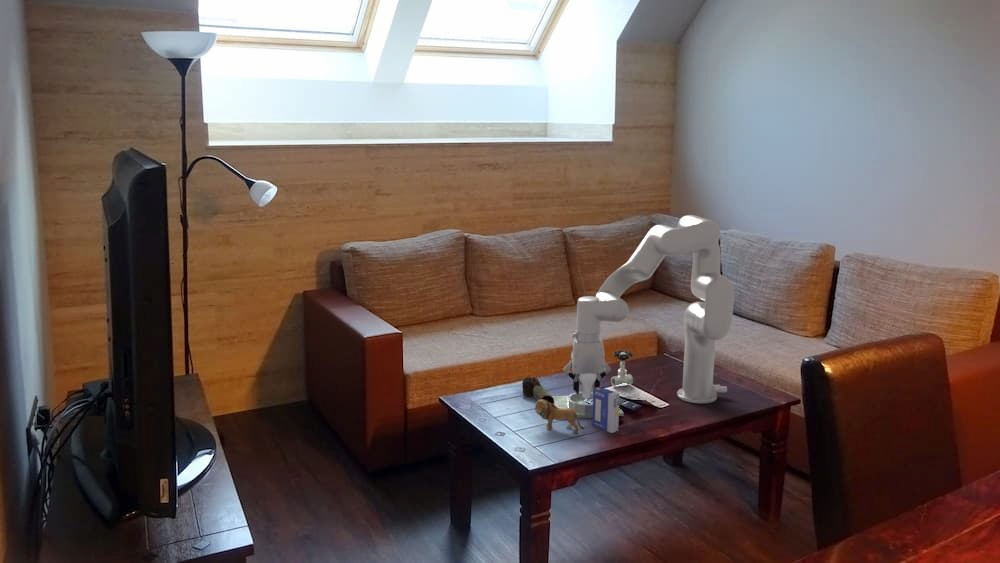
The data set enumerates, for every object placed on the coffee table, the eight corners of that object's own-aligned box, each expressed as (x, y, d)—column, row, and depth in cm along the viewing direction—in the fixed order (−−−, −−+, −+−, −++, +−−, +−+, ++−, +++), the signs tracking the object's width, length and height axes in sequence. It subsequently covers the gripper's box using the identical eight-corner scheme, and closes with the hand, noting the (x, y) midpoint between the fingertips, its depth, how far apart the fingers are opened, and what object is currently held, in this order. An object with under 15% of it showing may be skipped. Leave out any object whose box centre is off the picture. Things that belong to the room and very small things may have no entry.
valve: (608, 384, 273) (609, 351, 270) (624, 382, 275) (626, 348, 273) (618, 391, 267) (619, 356, 264) (635, 388, 270) (636, 354, 267)
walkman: (591, 425, 239) (593, 387, 236) (598, 423, 241) (599, 385, 238) (612, 433, 233) (613, 394, 230) (618, 431, 235) (620, 392, 232)
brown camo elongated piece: (554, 407, 253) (554, 390, 252) (534, 409, 251) (534, 393, 250) (536, 388, 270) (536, 372, 268) (517, 390, 268) (517, 374, 267)
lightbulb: (596, 396, 254) (597, 363, 252) (595, 403, 248) (597, 369, 246) (576, 394, 255) (578, 362, 252) (575, 401, 249) (577, 368, 247)
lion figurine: (534, 431, 234) (534, 402, 232) (535, 424, 240) (535, 396, 238) (584, 434, 233) (585, 405, 231) (584, 426, 238) (585, 398, 236)
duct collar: (611, 397, 261) (611, 388, 260) (623, 416, 245) (623, 406, 245) (550, 399, 259) (550, 390, 258) (559, 419, 243) (559, 409, 243)
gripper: (562, 340, 242) (561, 397, 246) (618, 339, 244) (616, 395, 248) (558, 333, 250) (557, 388, 254) (612, 332, 251) (610, 387, 255)
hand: (586, 391), depth 251 cm, fingers closed on lightbulb, 5 cm apart
